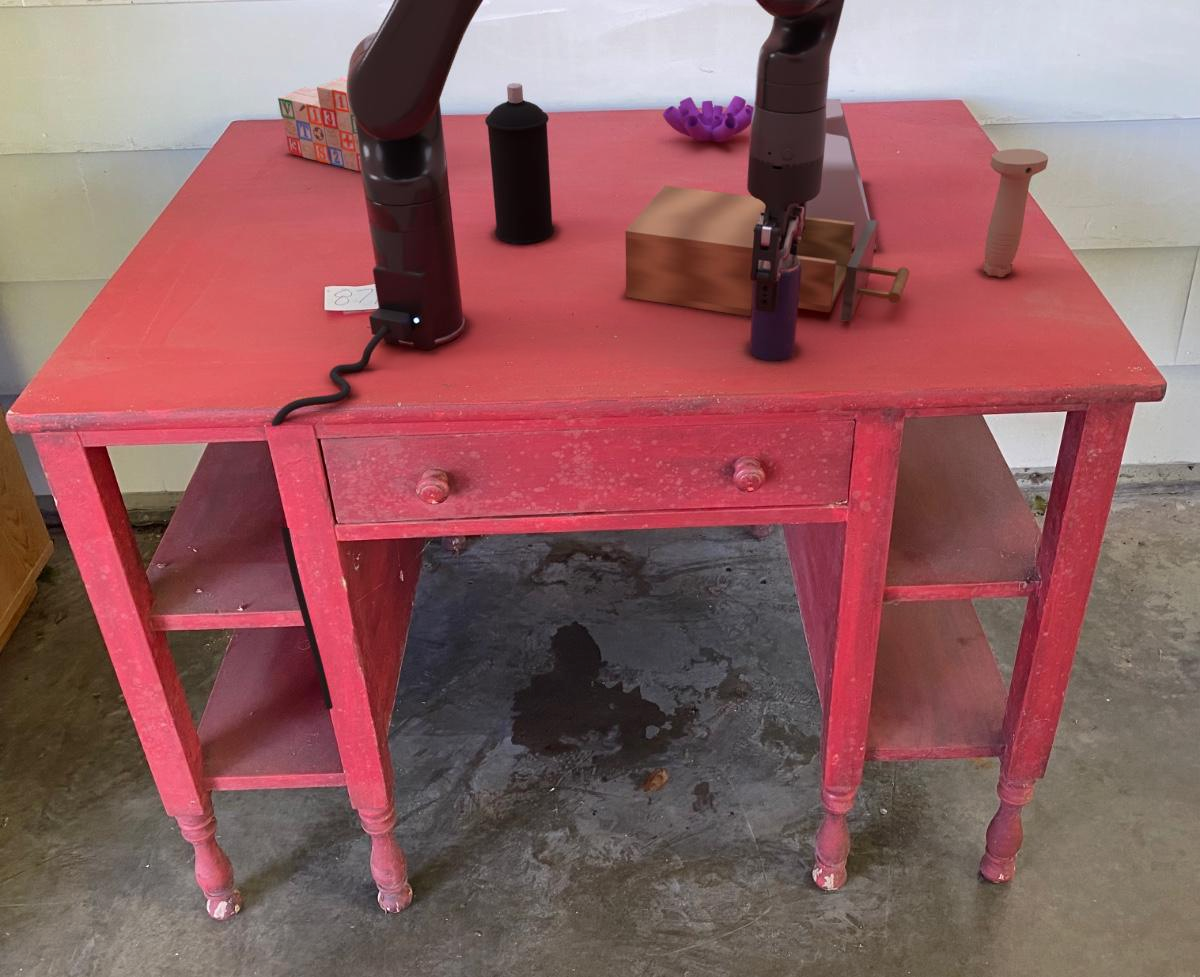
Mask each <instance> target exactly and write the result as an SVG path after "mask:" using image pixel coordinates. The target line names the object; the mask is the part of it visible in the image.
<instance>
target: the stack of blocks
mask: <svg viewBox="0 0 1200 977" xmlns="http://www.w3.org/2000/svg"><path fill="white" fill-rule="evenodd" d="M346 86H347V76H346V75H342V76H340V77H338V78H335V79H332V80H331V81H328V82H326V83H323V84H320V85H317V86H316V88H312V87H307V86H304V87H301V88H298V89H296V90H294V91H292V92H289V93H287V94H284V95H281V96H279V97H277V101H278V106H279V111H280V115H281V116H280V117H282V123H283V129H284V134H285V136H286V143H287V147H288V152H289V154H290V155H294V156H298V157H302V158H304V159H309V160H313V161H317V162H320V163H324V164H328V165H333V166H336V167H341V168H345V169H348V170H353V171H356V172H360V173H361V164H360V153H359V143H358V135H357V129H356V122H355V118H354V116H353V114H352V112H351V109H350V106H349V102H348V99H347V89H346Z"/></svg>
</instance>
